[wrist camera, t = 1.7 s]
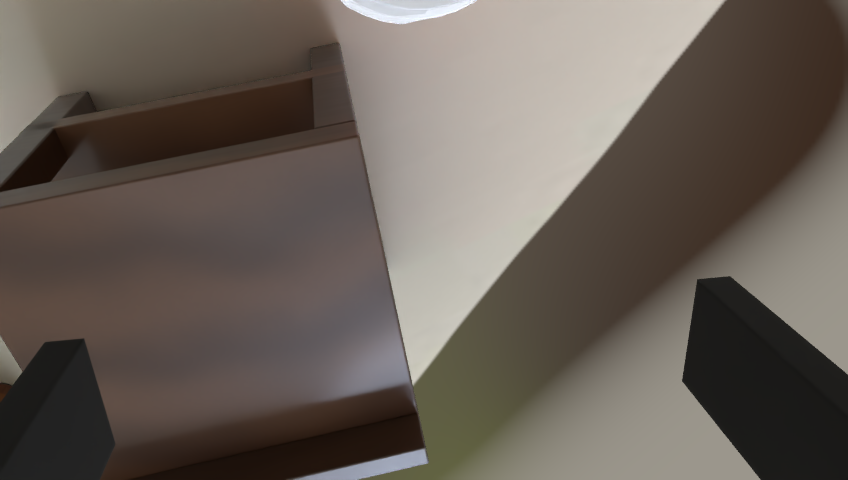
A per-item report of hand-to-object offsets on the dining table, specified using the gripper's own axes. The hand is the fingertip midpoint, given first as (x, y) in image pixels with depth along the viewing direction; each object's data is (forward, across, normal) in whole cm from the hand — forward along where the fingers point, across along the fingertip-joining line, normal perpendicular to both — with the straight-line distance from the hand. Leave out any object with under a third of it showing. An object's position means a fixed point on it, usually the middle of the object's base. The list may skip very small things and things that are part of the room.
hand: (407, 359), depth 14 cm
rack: (+23, -7, -4) cm, 24 cm away
